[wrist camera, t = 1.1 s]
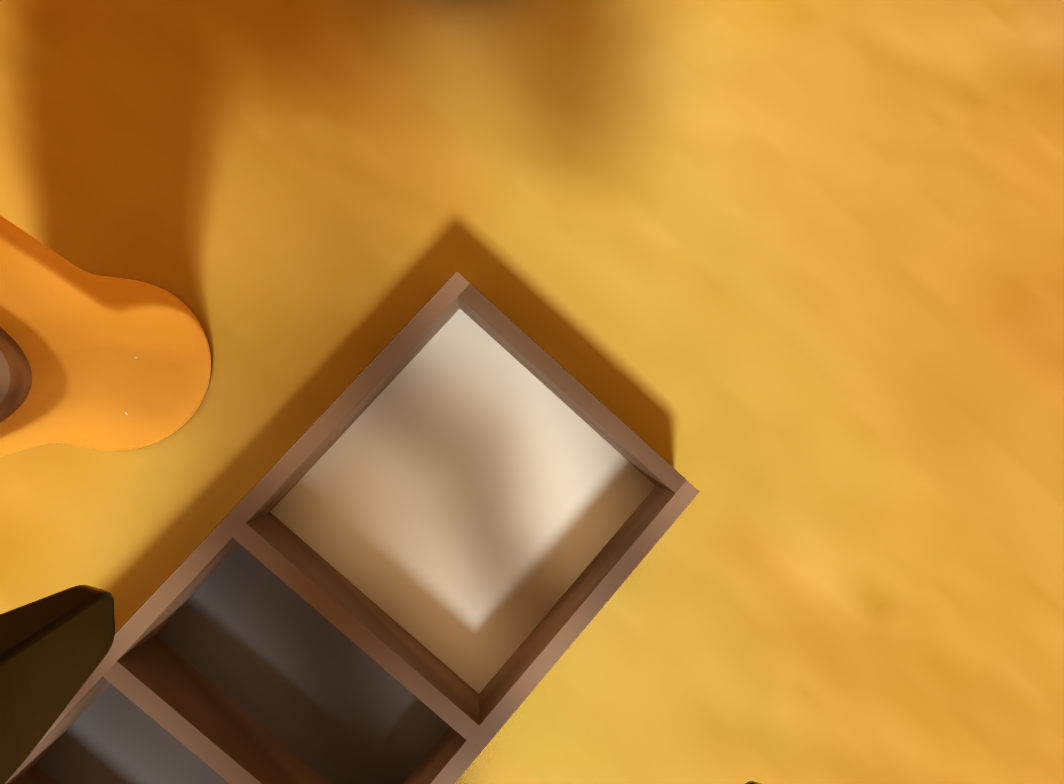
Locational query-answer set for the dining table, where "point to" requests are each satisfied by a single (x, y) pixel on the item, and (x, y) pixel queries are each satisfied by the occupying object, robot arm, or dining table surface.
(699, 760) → the dining table surface
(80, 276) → the metal cup
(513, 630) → the box
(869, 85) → the dining table surface
